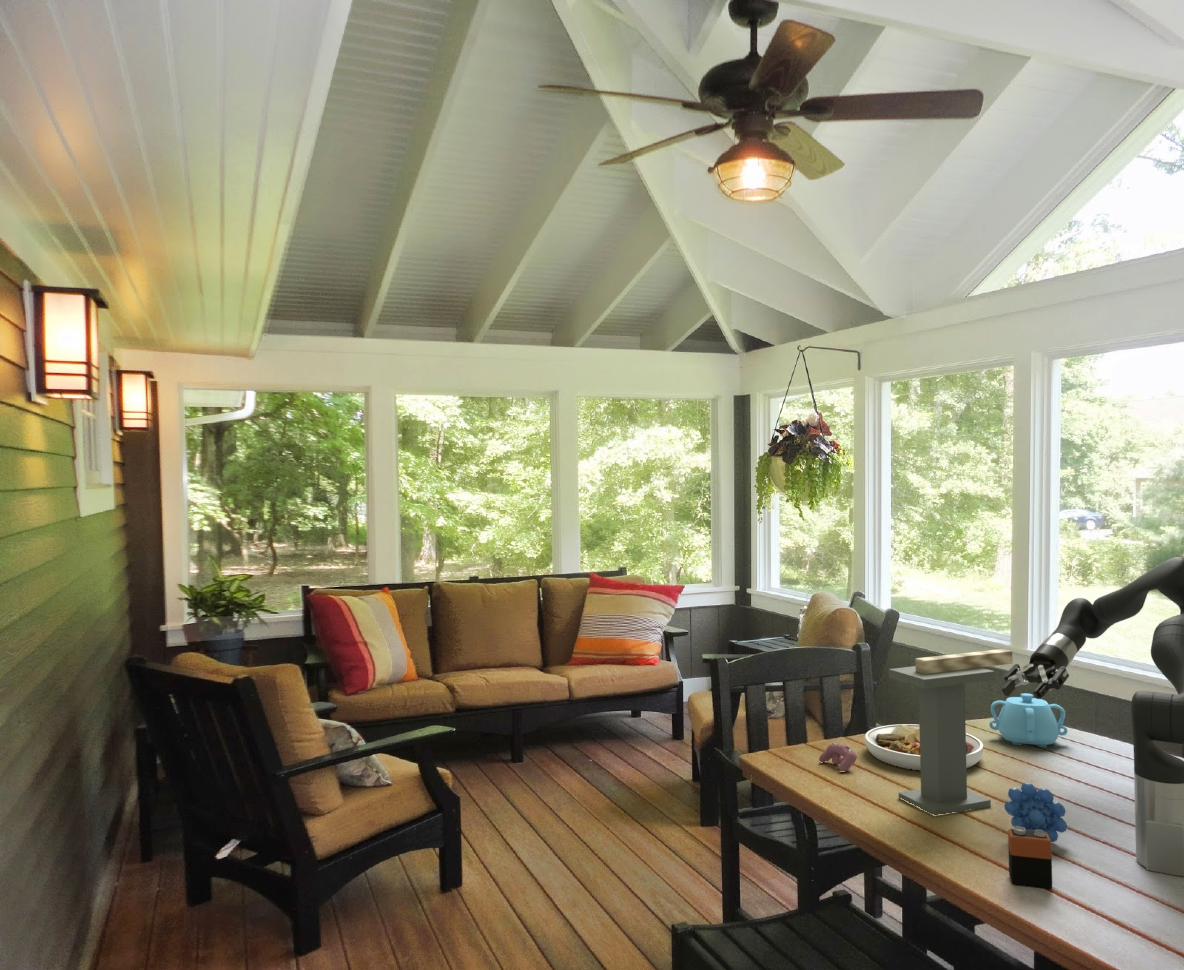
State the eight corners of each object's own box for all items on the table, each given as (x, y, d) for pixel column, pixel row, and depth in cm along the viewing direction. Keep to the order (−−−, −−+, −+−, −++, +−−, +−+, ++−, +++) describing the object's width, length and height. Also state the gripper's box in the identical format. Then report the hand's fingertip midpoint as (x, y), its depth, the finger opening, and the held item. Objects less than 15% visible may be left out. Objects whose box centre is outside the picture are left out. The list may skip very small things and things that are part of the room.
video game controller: (853, 777, 222) (862, 752, 224) (839, 772, 221) (849, 746, 222) (828, 766, 232) (837, 742, 233) (816, 761, 230) (825, 736, 231)
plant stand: (959, 788, 209) (956, 661, 209) (997, 805, 198) (994, 671, 198) (891, 800, 202) (888, 669, 202) (927, 818, 191) (924, 679, 191)
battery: (1008, 875, 163) (1007, 822, 163) (1048, 880, 161) (1047, 826, 161) (1011, 885, 159) (1010, 831, 159) (1052, 890, 156) (1051, 836, 156)
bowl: (842, 752, 240) (841, 724, 240) (918, 735, 254) (917, 708, 254) (928, 784, 213) (928, 752, 213) (1008, 763, 227) (1007, 734, 227)
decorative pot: (1030, 731, 255) (1029, 685, 255) (1074, 746, 239) (1072, 697, 239) (984, 737, 250) (983, 690, 250) (1026, 752, 235) (1024, 703, 235)
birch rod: (1002, 661, 208) (1002, 648, 208) (1012, 663, 205) (1012, 651, 205) (915, 671, 199) (915, 658, 199) (924, 673, 197) (924, 660, 197)
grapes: (1006, 845, 176) (1005, 787, 176) (1004, 833, 182) (1002, 776, 182) (1070, 853, 172) (1069, 793, 172) (1066, 840, 178) (1064, 782, 178)
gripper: (1087, 669, 208) (1054, 710, 200) (1034, 666, 220) (1001, 704, 213) (1074, 643, 207) (1040, 683, 200) (1021, 641, 219) (987, 679, 212)
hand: (1020, 694), depth 206 cm, fingers open, 8 cm apart
